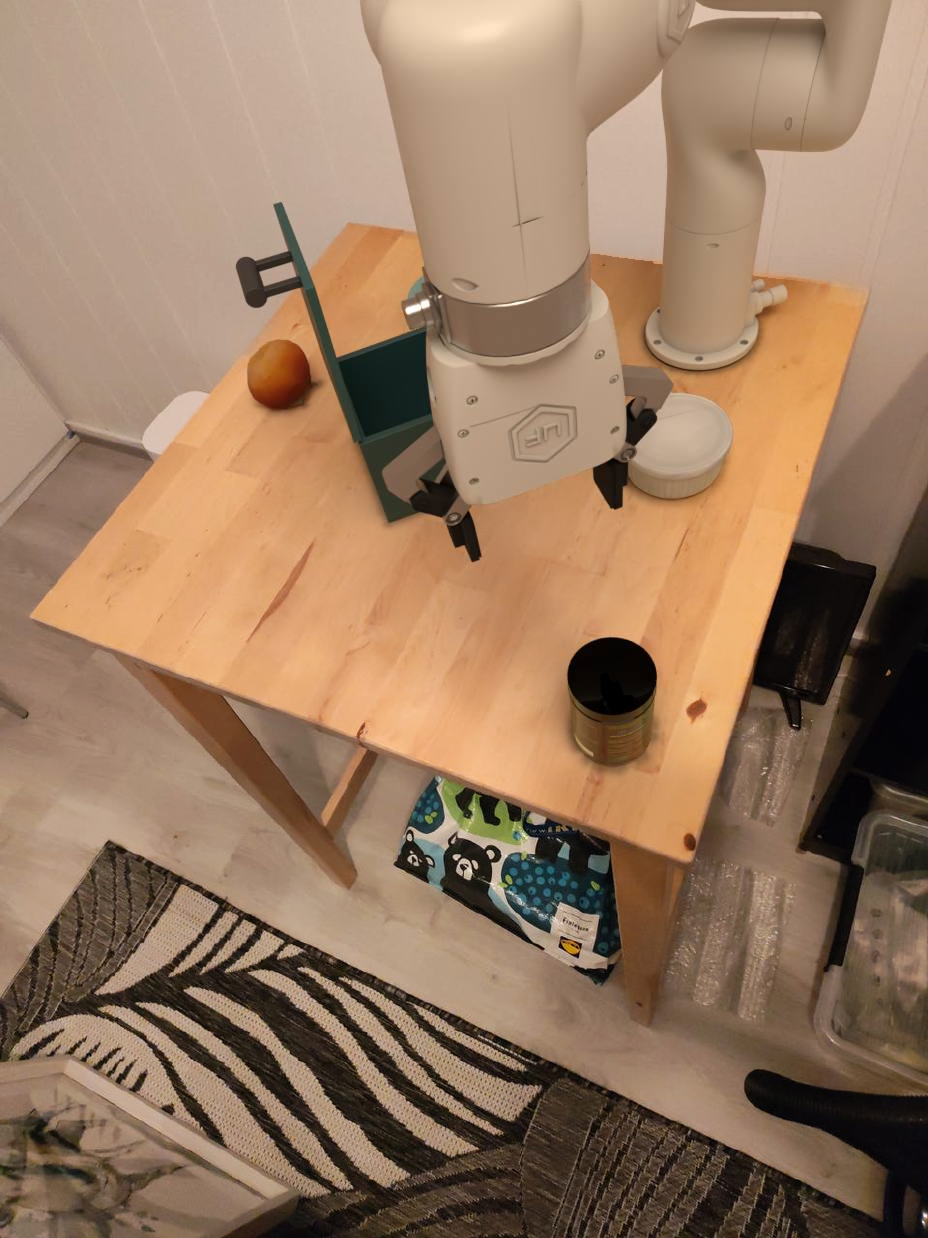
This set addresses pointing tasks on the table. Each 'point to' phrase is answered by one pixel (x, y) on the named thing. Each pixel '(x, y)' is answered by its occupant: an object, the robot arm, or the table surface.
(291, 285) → the lid
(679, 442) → the ramekin
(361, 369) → the box
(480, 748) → the table surface
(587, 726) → the supplement container
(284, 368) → the fruit
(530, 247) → the robot arm
